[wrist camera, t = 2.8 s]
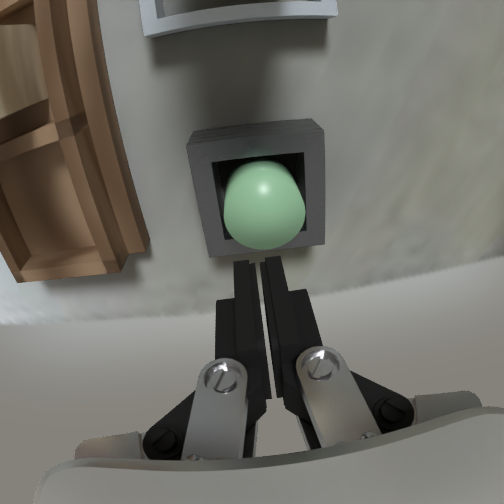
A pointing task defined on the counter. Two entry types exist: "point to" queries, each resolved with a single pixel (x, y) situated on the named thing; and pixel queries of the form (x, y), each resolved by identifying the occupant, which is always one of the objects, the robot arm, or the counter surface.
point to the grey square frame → (230, 15)
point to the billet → (20, 69)
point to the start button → (263, 204)
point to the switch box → (252, 145)
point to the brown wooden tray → (66, 156)
